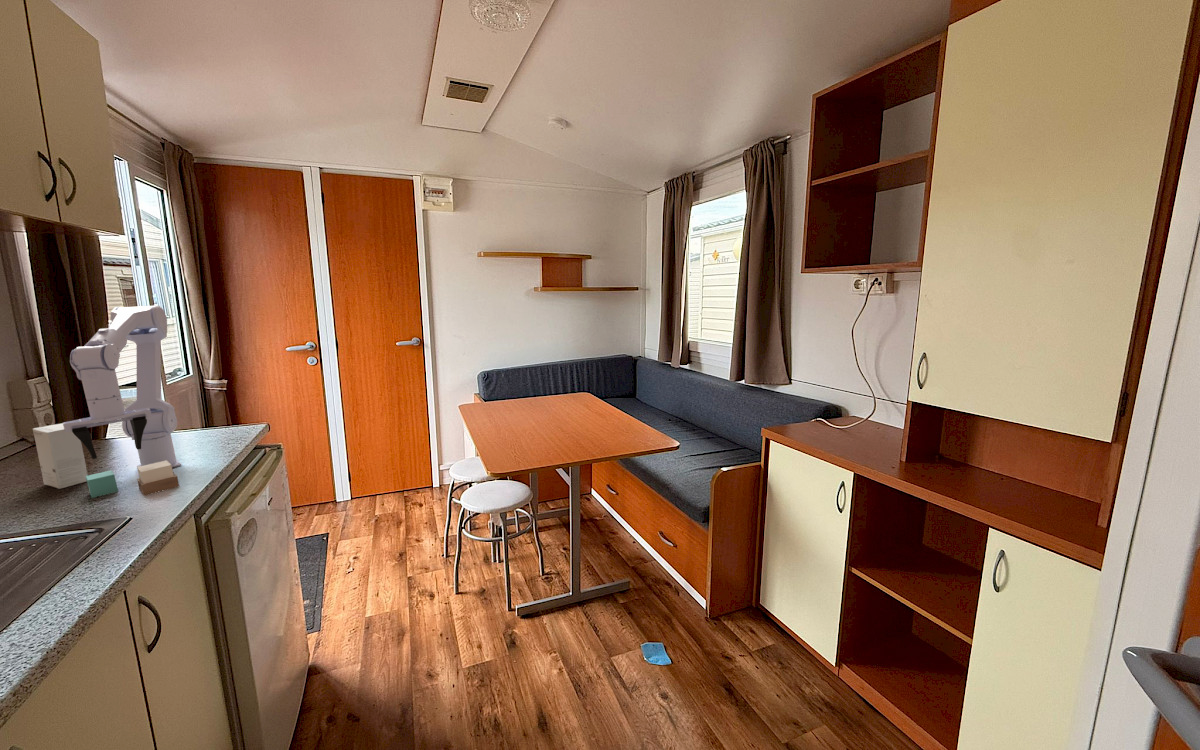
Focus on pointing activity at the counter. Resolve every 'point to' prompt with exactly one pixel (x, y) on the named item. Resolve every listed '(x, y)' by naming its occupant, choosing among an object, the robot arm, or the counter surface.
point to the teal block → (101, 483)
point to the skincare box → (60, 456)
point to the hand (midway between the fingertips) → (117, 453)
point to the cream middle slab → (155, 472)
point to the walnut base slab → (158, 485)
